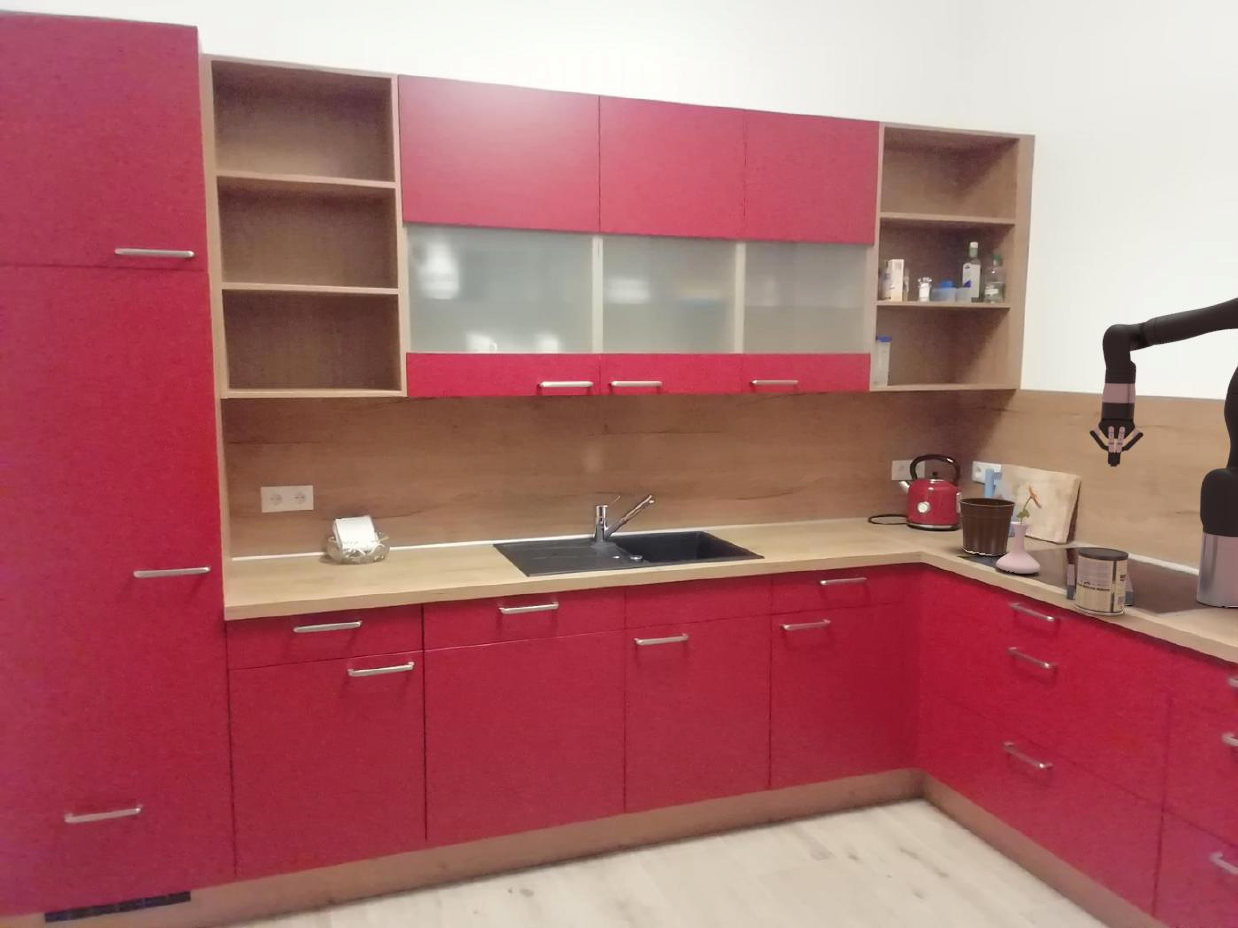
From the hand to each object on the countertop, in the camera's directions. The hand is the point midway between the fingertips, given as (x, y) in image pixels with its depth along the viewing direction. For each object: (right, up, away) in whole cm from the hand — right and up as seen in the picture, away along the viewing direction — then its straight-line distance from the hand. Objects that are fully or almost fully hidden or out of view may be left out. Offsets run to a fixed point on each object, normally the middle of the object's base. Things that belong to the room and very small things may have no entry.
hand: (1113, 466), depth 229 cm
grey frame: (-8, -32, -7) cm, 34 cm away
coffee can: (-18, -34, -25) cm, 46 cm away
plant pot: (-19, -27, +38) cm, 50 cm away
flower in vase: (-19, -30, +13) cm, 38 cm away
